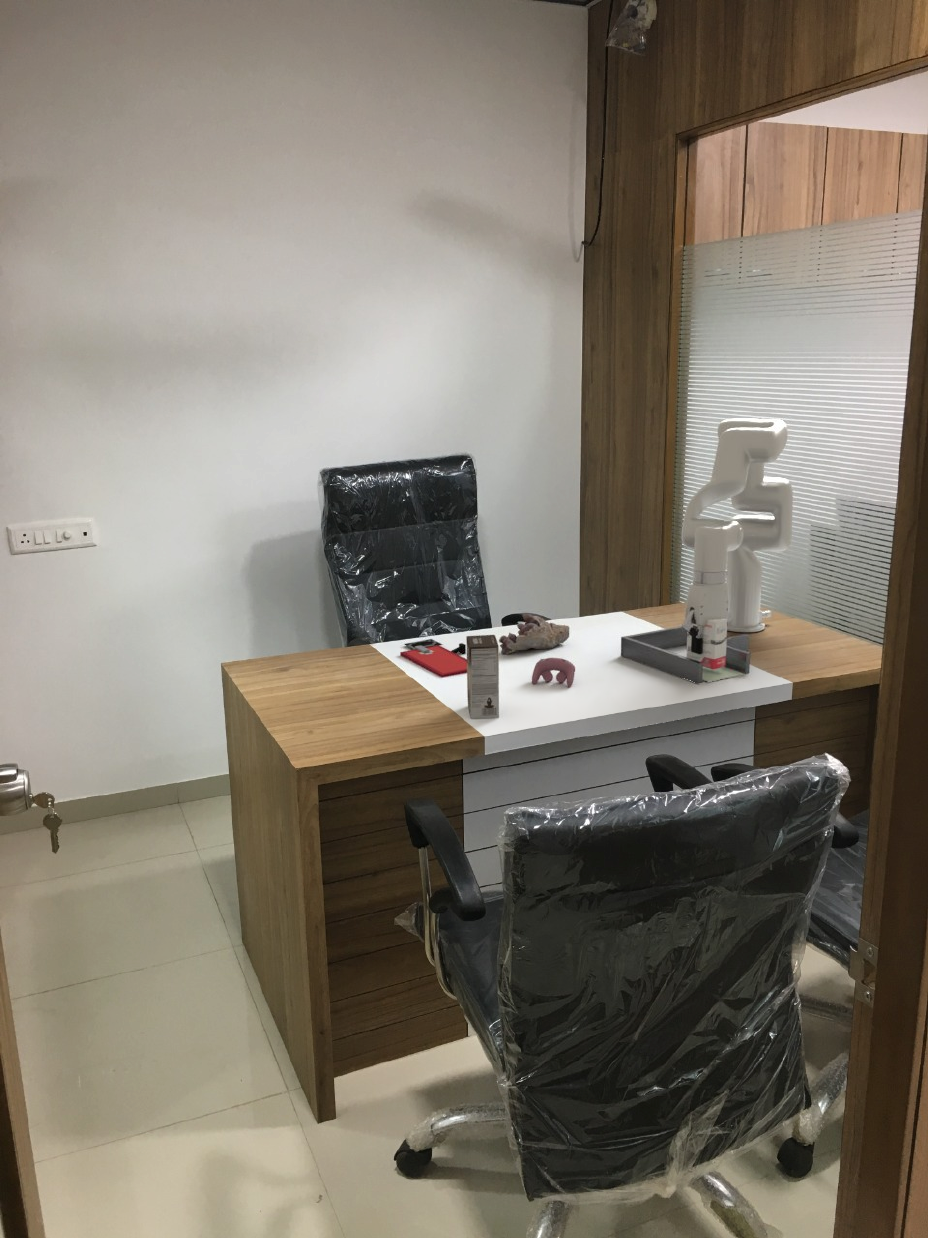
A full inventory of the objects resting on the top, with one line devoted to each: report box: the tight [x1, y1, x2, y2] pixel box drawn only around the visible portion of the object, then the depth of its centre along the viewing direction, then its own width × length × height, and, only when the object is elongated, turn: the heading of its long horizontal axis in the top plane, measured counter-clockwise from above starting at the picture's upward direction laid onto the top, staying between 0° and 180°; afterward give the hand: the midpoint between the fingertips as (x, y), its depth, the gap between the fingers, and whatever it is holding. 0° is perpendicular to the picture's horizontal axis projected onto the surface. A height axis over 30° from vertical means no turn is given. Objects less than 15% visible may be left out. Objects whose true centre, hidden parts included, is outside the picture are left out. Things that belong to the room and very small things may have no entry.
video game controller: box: [531, 657, 576, 688], centre depth 236 cm, size 10×5×7 cm, turn 72°
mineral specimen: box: [498, 613, 570, 655], centre depth 265 cm, size 20×10×10 cm
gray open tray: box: [620, 625, 751, 684], centre depth 252 cm, size 28×28×5 cm
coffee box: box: [465, 634, 500, 720], centre depth 216 cm, size 9×6×16 cm
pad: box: [702, 666, 744, 683], centre depth 242 cm, size 11×11×1 cm
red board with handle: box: [400, 638, 467, 678], centre depth 258 cm, size 30×3×15 cm
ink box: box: [685, 618, 728, 670], centre depth 241 cm, size 8×5×12 cm, turn 39°
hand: (706, 650), depth 242 cm, fingers closed on ink box, 5 cm apart
